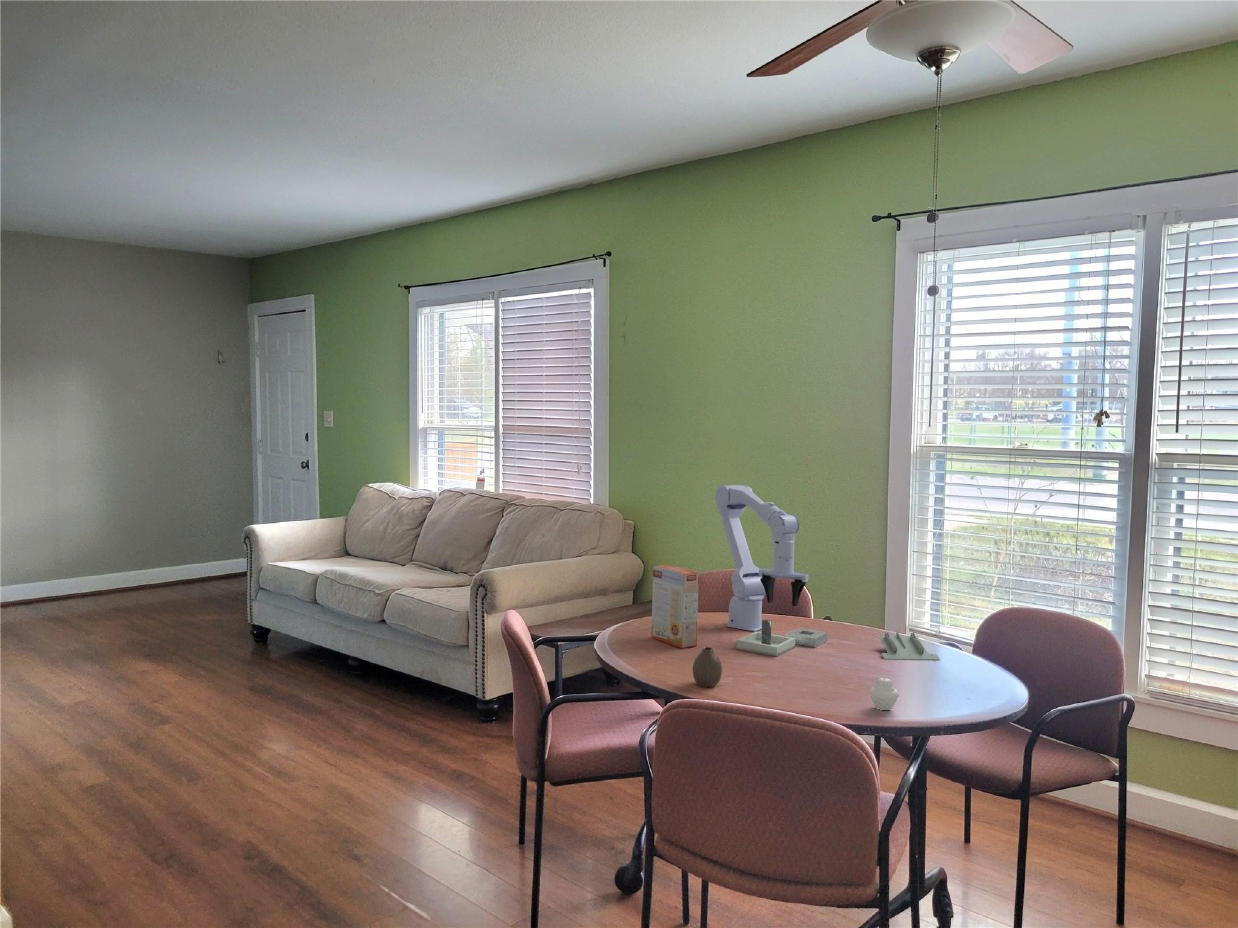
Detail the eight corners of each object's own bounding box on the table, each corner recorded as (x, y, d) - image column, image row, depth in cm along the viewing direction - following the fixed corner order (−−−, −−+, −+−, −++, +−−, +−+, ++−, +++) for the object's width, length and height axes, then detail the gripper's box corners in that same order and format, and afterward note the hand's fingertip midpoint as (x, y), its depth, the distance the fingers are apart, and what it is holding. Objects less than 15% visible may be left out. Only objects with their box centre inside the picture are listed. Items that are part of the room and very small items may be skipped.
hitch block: (785, 641, 247) (785, 633, 247) (797, 635, 254) (798, 627, 254) (815, 647, 242) (815, 638, 242) (827, 640, 249) (827, 632, 249)
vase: (713, 691, 202) (714, 654, 201) (687, 685, 205) (688, 649, 205) (726, 683, 207) (727, 647, 207) (700, 678, 211) (701, 642, 211)
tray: (736, 648, 239) (736, 639, 238) (755, 639, 248) (755, 631, 248) (776, 656, 232) (777, 647, 232) (794, 647, 242) (795, 638, 242)
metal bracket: (870, 627, 243) (923, 628, 244) (868, 645, 245) (920, 646, 246) (886, 655, 230) (942, 656, 230) (884, 674, 232) (939, 675, 232)
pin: (759, 645, 240) (760, 620, 239) (764, 643, 242) (764, 619, 242) (767, 647, 238) (768, 622, 238) (772, 645, 240) (773, 620, 240)
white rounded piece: (867, 710, 191) (869, 679, 190) (870, 702, 196) (871, 672, 196) (897, 715, 189) (898, 683, 188) (899, 706, 194) (900, 675, 194)
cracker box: (698, 646, 240) (700, 571, 239) (680, 649, 237) (683, 573, 235) (667, 635, 252) (669, 563, 250) (650, 637, 248) (652, 565, 247)
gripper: (754, 555, 250) (753, 602, 250) (801, 561, 241) (800, 609, 242) (765, 552, 255) (764, 598, 256) (811, 558, 247) (810, 605, 248)
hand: (782, 603), depth 249 cm, fingers open, 7 cm apart
